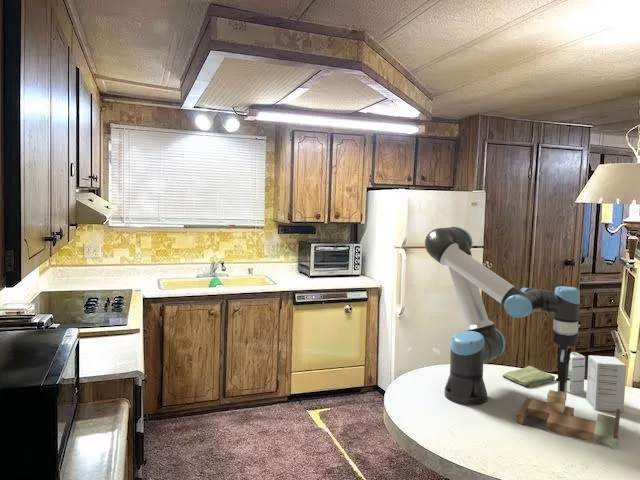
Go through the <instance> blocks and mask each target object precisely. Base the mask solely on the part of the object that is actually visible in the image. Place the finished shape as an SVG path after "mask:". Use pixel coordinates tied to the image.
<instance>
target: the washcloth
mask: <svg viewBox="0 0 640 480" xmlns="http://www.w3.org/2000/svg"><path fill="white" fill-rule="evenodd" d="M502 377H503V378H504V379H507V380H510V381H512V382H514V383H517V384H520V385H523V386H525V387H527V388H534V387H537V386H541V385H544V384H548V383H551V382H554V380H556V377H555V375H553V374H551V373H549V372H546V371H542V370H540V369H538V368H537V367H535V366H531V365H528V366H526V367H522V368H519V369H515V370H510V371H507V372H506V373H504V374H502Z"/></svg>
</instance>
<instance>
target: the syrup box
mask: <svg viewBox="0 0 640 480" xmlns="http://www.w3.org/2000/svg"><path fill="white" fill-rule="evenodd" d="M585 367H586V356H585V355H583V354H580V353H578V352H576V351H571V354H570V361H569V370H568V377H567V378H570V381H568V380H567V394H570V395H579V394H585V371H586V368H585Z"/></svg>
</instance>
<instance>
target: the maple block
mask: <svg viewBox="0 0 640 480" xmlns="http://www.w3.org/2000/svg"><path fill="white" fill-rule="evenodd" d="M546 402H547V408H546V409H548V410H552V411H556V412H560V413H563V412H564V409H565V406H566V402H567V397H566V393H562V392H558V390H553V389H549V390H548V392H547V394H546Z"/></svg>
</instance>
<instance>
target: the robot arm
mask: <svg viewBox="0 0 640 480" xmlns="http://www.w3.org/2000/svg"><path fill="white" fill-rule="evenodd" d="M424 247H425V251H426V252H427V253H428V255H429V256H430V257H431V258H433V259H434V260H435V261H436V262H437V263H439V264H441V266H447V267H448V270H449V274H450V277H451V280H452V282H453V283H452V284H453V286H454V290H455V292H456V295H457V298H458V301H459V306H460V308H461V312H462V314H463V318H464V321H465V324H466V326H465V328H464V329H463V330H464V331H457V332H456V333H453V335H452V337H451V339H450V340H451V341H450V362H449V363H450V364H449V365H450V366H449V376H448V379H447V382H446V384H445V386H444V396H445V397H446V399H448V400H450V401H452V402H454V403H457V404H461V405H469V406H477V405H482V404H484V403H486V402H487V400H488V392H487V391H488V390H487V388H486V384H485V381H484V364H487V363H489V362H491V361H494V360H496V359H498V358H499V357H500V356H501V355H502V354H503V353H504V351H505V349H506V339H505V336H504V334H503V333H502V331H499V330H498V329H497V328H496V324H495V322H493V321H492V320H490V319H489V317H488V314H487V311H486V306H485V305H484V300H483V298H482V295H481V293H480V290H481V291H483V292H484V293H486V294H487V295H488V296H490V297H491V298H492V299H494V301H495V300H496V302H498V303H499V304H501V305H502V306H503V307H504V310H505V313H506V314H507V315H508V316H510V317H511V318H514V319H516V318H517V319H518V318H519V319H520V318H524V317H525V318H526V317H528V316H530V315H531V314H534V313H536V312H544V313H550V314H553V326H552V330H553V332H552V342H553V343H554V344H556V345H559V346H558V348H557V350H556V354H557V378H556V377H555V381H556V382H557V392H562V393H566V398H567V395H568V392H567V380H568V381H570V378H567V377H568V370H569V361H570V354H571V352H572V348H570V347H576V346H577V345H578V340H579V336H578V333H579V328H581V324H579V319H580V318H579V317H580V305H581V297H580V296H581V295H580V294H581V292H580V290H579V289H578V288H577V287H574V286H565V285H564V286H563V285H562V286H561V285H560V286H556V287H555V289H554V290H553V291H552V290H547V289H539V288H533V287H521V288H520V289H519V288H517V287H516V286H514V285H513V284H511V283H510V282H509V281H507V280H506V279H504V278H503V277H501V276H500V275H498V274H497V273H495V272H494V271H493V270H491V269H490V268H488V267H487V266H485V265H484V264H483V263H481V262H479V261H478V260H476V259H475V258H474V257H473V254H472V251H471V250H472V247H473V239H472V235H471V234H470V233H469V232H468V231H467V229H465V228H463V227H458V226H450V227H438V228H434V229H432V230H431V231H429V232H428V233H427V234H426V237H425V240H424Z"/></svg>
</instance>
